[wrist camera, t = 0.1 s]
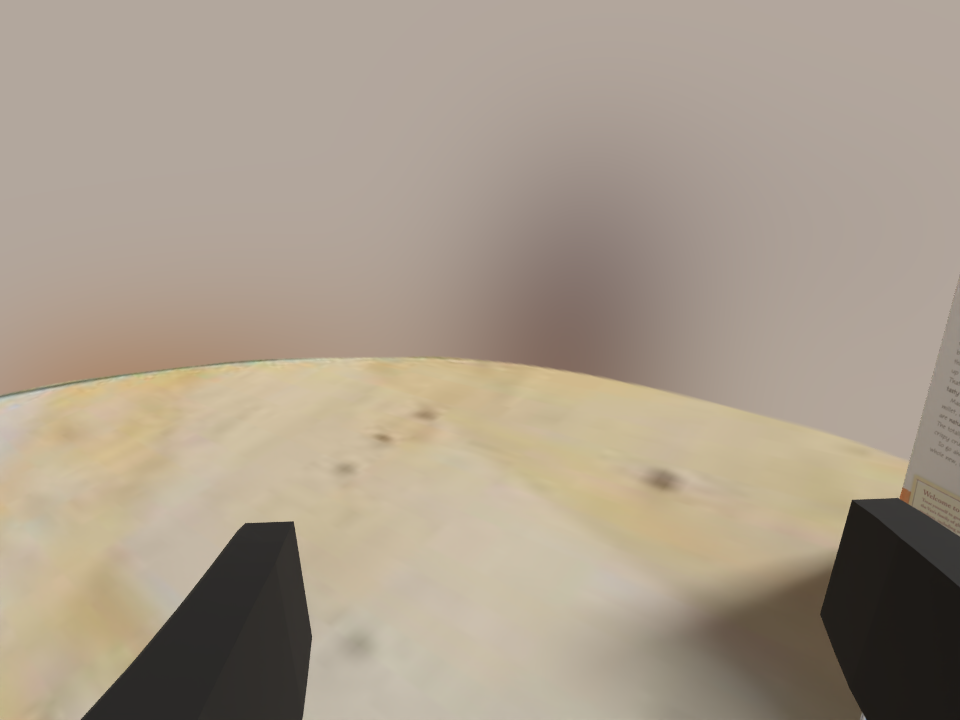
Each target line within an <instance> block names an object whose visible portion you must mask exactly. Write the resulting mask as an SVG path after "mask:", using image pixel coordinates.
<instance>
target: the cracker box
mask: <svg viewBox="0 0 960 720" xmlns="http://www.w3.org/2000/svg"><path fill="white" fill-rule="evenodd" d="M900 500H902V501H904V502H906V503H907V504H909V505H911V506H912V507H914V508H916V509H917V510H919V511H921V512H922V513H924V514H926V515H927V516H929V517H930V518H932V519H933V520H935V521H937V522H938V523H940V524H941V525H943V526H944V527H946V528H947V529H949V530H951V531H952V532H954V533H955V534H957V535H958V536H960V276H959V280H958V284H957V287H956V291H955V295H954V298H953V302H952V306H951V309H950V313H949V317H948V321H947V324H946V328H945V331H944V335H943V339H942V343H941V347H940V350H939V354H938V358H937V361H936V365H935V369H934V372H933V376H932V380H931V384H930V387H929V391H928V395H927V398H926V402H925V405H924V409H923V413H922V417H921V420H920V424H919V429H918V432H917V436H916V439H915V443H914V447H913V450H912V454H911V458H910V462H909V465H908V469H907V473H906V477H905V481H904V484H903V488H902V492H901V495H900Z"/></svg>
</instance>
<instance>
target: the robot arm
mask: <svg viewBox="0 0 960 720" xmlns="http://www.w3.org/2000/svg"><path fill="white" fill-rule="evenodd" d="M820 615H821V618H822V620H823V623H824V626H825V628H826V631H827V633H828V636H829V639H830V641H831V644H832V647H833V649H834V652H835V654H836V657H837V659H838V662H839V664H840V666H841V669H842V671H843V674H844V676H845V678H846V681H847V683H848V685H849V688H850V690H851V692H852V694H853V696H854V697H855V699H856V701H857V703H858V705H859V707H860V709H861V711H862V712H863V714H864V716H865V718H866V720H960V536H958V535H957V534H955V533H954V532H952V531H951V530H949V529H947V528H946V527H944V526H943V525H941V524H940V523H938V522H937V521H935V520H933V519H932V518H930V517H929V516H927V515H926V514H924V513H922V512H921V511H919V510H917V509H916V508H914V507H912V506H911V505H909V504H907V503H906V502H904V501H902V500H900V499H899V498H890V499H864V500H852V502H851V506H850V509H849V513H848V516H847V520H846V524H845V527H844V531H843V534H842V538H841V542H840V545H839V549H838V552H837V556H836V560H835V563H834V567H833V570H832V574H831V578H830V581H829V585H828V588H827V592H826V595H825V599H824V603H823V606H822V610H821V613H820ZM311 641H312V634H311V628H310V621H309V615H308V609H307V602H306V596H305V590H304V583H303V577H302V571H301V565H300V558H299V552H298V546H297V539H296V533H295V527H294V521H293V522H267V523H245V524H244V525H243V526H242V527H241V528H240V529H239V530H238V531H237V532H236V534H235V535H234V536H233V537H232V539H231V540H230V541H229V543H228V544H227V545H226V547H225V548H224V549H223V551H222V552H221V553H220V555H219V556H218V557H217V559H216V560H215V561H214V562H213V564H212V565H211V566H210V568H209V569H208V570H207V572H206V573H205V574H204V576H203V577H202V578H201V579H200V581H199V582H198V583H197V584H196V586H195V587H194V588H193V590H192V591H191V592H190V593H189V595H188V596H187V597H186V598H185V600H184V601H183V602H182V603H181V605H180V606H179V607H178V609H177V610H176V611H175V612H174V613H173V615H172V616H171V617H170V618H169V619H168V621H167V622H166V623H165V624H164V625H163V627H162V628H161V629H160V630H159V631H158V633H157V634H156V635H155V636H154V637H153V639H152V640H151V641H150V642H149V643H148V645H147V646H146V647H145V648H144V649H143V651H142V652H141V653H140V654H139V655H138V657H137V658H136V659H135V660H134V661H133V662H132V664H131V665H130V666H129V667H128V668H127V669H126V670H125V672H124V673H123V674H122V675H121V676H120V677H119V678H118V679H117V680H116V681H115V683H114V684H113V685H112V686H111V687H110V688H109V689H108V690H107V691H106V692H105V694H104V695H103V696H102V697H101V698H100V699H99V700H98V701H97V702H96V703H95V705H94V706H93V707H92V708H91V709H90V710H89V711H88V712H87V713H86V714H85V716H84V717H83V718H82V719H81V720H302V717H303V711H304V703H305V695H306V687H307V678H308V669H309V660H310V651H311Z"/></svg>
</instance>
